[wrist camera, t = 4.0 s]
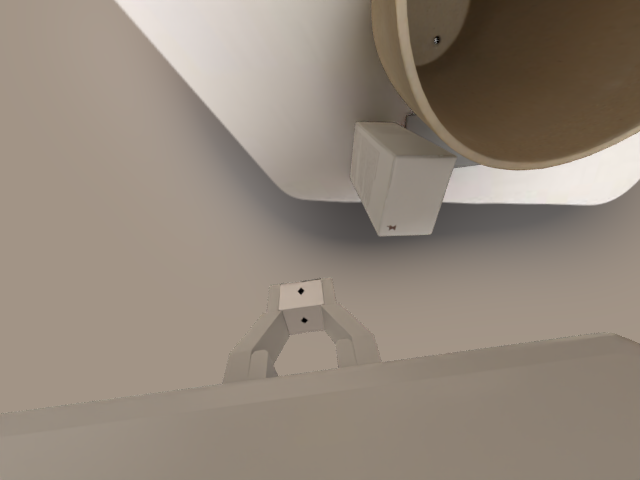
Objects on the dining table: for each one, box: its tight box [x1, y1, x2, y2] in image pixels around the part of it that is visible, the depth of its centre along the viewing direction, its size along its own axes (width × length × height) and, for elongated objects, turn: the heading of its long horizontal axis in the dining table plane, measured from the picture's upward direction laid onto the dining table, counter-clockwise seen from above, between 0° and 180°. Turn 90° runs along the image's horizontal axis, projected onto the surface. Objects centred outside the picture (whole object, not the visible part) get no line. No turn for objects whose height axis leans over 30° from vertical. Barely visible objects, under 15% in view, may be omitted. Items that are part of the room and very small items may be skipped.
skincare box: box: [350, 122, 457, 236], centre depth 21 cm, size 6×4×12 cm
